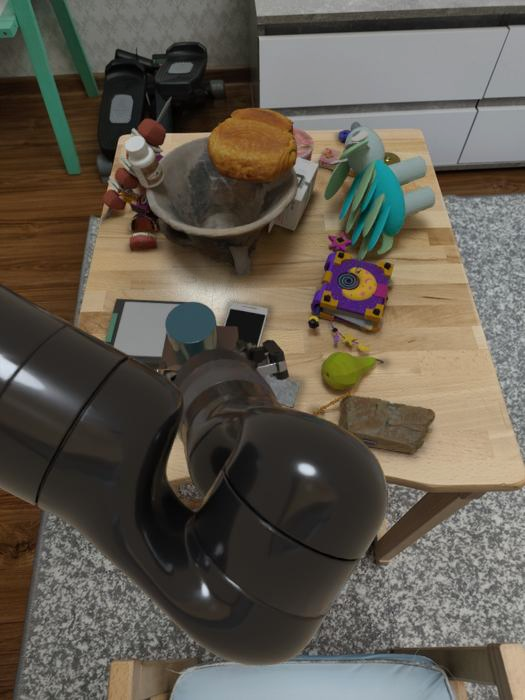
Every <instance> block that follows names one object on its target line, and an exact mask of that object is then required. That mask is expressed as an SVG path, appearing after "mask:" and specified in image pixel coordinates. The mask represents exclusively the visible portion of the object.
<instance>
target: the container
mask: <svg viewBox="0 0 525 700" xmlns="http://www.w3.org/2000/svg"><path fill="white" fill-rule="evenodd" d="M293 136H294V138H295V139H296V142H297V143H296V144H297V157H299V158H303V159H306V160H309V161H312V156H313V155H312V154H313V151H314V148H315V142H314V139H313V137H312V136H311V135H310V134H309V133H308V132H307V131H305V130H303V129H299V128H296V127H293ZM296 159H297V158H296Z"/></svg>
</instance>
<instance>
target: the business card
mask: <svg viewBox="0 0 525 700" xmlns="http://www.w3.org/2000/svg"><path fill="white" fill-rule="evenodd" d="M262 377H263V378H264V379H265V380H266V382H267V383H268V384H269V385H270V387H271V388H272V390H273V392H274V393H275V396H276V398H277V400H278V402H279V403H280V404H281V406H285V407H287V408H291V409H294V405H295V401H296V399H297V396H298V392H299V389H300V386H301V381H297V380H293V379H290V378H286V379H284V380H277V379H276V378H275V376H274V377H270V376H269V375H266V376H262Z"/></svg>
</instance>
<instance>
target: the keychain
mask: <svg viewBox="0 0 525 700" xmlns="http://www.w3.org/2000/svg"><path fill="white" fill-rule="evenodd" d="M354 393H355V390H349V391H348V392H345V393H344V394H343V395H341V396H339V397H337V398H334V400H332V401H330V402H329V403H327V404H326V405H323V406H321V407H320V408H319V409H316V410H314V411H312V415H315V416H318V413H319V412H323V413H324V412H325V410H326V409H327V408H329V407H331V406H332V405H335V404H337V403H340V401H341V400H342V399H344V397H348V396H351V395H352V394H354Z"/></svg>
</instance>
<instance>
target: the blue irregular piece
mask: <svg viewBox="0 0 525 700" xmlns="http://www.w3.org/2000/svg"><path fill="white" fill-rule="evenodd" d="M350 132H351V129H342V130H341V131H339V133H338V137H337V138H338V139H339V140H340V143H341V144H343V143H345V141H346V138H347V136H348V135H349V133H350Z"/></svg>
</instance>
